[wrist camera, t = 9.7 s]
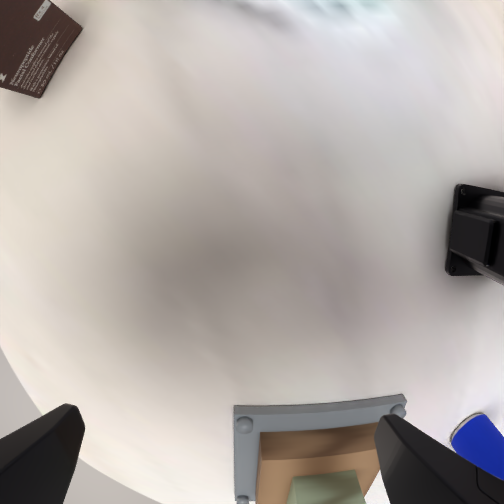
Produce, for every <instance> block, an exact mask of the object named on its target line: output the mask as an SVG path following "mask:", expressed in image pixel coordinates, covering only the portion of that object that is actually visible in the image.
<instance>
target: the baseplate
mask: <svg viewBox="0 0 504 504" xmlns="http://www.w3.org/2000/svg"><path fill="white" fill-rule="evenodd" d="M406 403H407V400H406V399H405V397H404V395H403V394H400V395H394V396H388V397H381V398H373V399H366V400H357V401H348V402H338V403H326V404H311V405H290V406H234V476H235V501H237V504H249V501H256V499H255V490H256V477H257V465H258V452H259V439H260V432H281V431H302V430H317V429H328V428H338V427H347V426H354V425H362V424H369V423H375V422H379V420H380V418H381V416H382V415H386V414H392V413H394V414H397V415H398V416H400V417H401V418H404V417H405V415H406V411H405V409H404V408H405V405H406Z"/></svg>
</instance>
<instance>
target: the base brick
mask: <svg viewBox="0 0 504 504" xmlns="http://www.w3.org/2000/svg"><path fill="white" fill-rule="evenodd" d="M378 423H379V422H375V423H369V424H362V425H354V426H347V427H338V428H328V429H317V430H302V431H281V432H260V439H259V452H258V465H257V477H256V490H255V499H256V504H286V503H287V499H288V495H289V491H290V487H291V483H292V478H293V477H295V476H307V475H317V474H326V473H334V472H341V471H348V470H354V469H355V472H356V475H357V478H358V481H359V484H360V487H361V490H362V493H363V496H365V495H366V493H367V491H368V490H369V488H370V486H371V484H372V483H373V481H374V479H375V477H376V476H377V474H378V472H379V470H380V465H379V460H378V456H377V451H376V446H375V442H374V433H375V430H376V428H377V425H378Z"/></svg>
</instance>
